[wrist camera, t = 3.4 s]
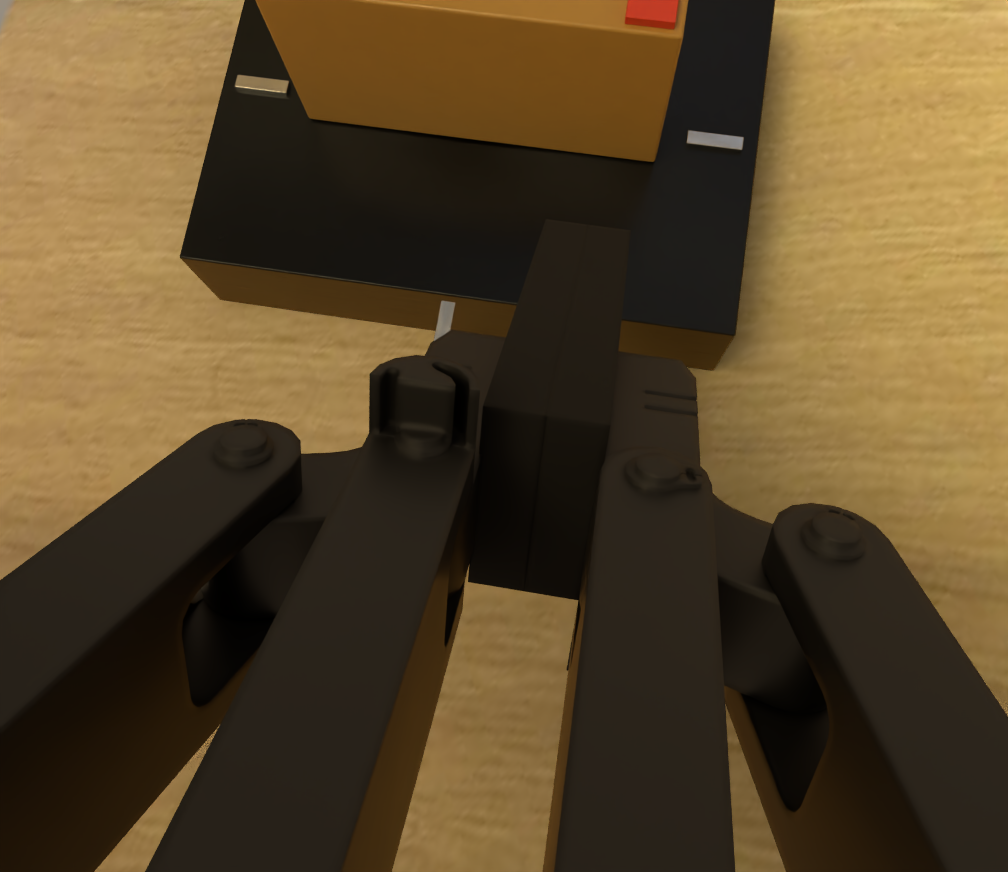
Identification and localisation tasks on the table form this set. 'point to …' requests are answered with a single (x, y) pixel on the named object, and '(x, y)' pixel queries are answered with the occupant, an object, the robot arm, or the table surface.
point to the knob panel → (483, 202)
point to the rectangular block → (488, 68)
